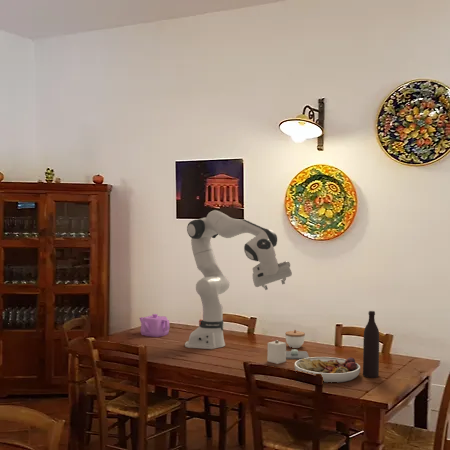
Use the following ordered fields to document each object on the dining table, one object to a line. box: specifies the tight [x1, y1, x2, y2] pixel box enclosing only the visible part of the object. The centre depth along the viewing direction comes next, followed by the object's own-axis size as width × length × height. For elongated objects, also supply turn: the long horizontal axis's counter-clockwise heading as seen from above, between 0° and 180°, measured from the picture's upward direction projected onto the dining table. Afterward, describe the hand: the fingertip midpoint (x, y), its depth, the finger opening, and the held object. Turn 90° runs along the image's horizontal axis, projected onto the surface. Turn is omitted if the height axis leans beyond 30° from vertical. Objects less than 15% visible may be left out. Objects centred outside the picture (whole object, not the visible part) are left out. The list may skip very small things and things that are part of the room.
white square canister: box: [266, 339, 287, 365], centre depth 305 cm, size 7×7×11 cm
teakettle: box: [139, 313, 170, 338], centre depth 367 cm, size 17×17×12 cm
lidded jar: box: [285, 329, 306, 349], centre depth 337 cm, size 11×11×9 cm
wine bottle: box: [362, 310, 380, 379], centre depth 279 cm, size 7×7×30 cm
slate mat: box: [286, 348, 310, 360], centre depth 316 cm, size 14×14×3 cm
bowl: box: [294, 356, 361, 383], centre depth 281 cm, size 30×30×8 cm
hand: (274, 286), depth 315 cm, fingers open, 8 cm apart
